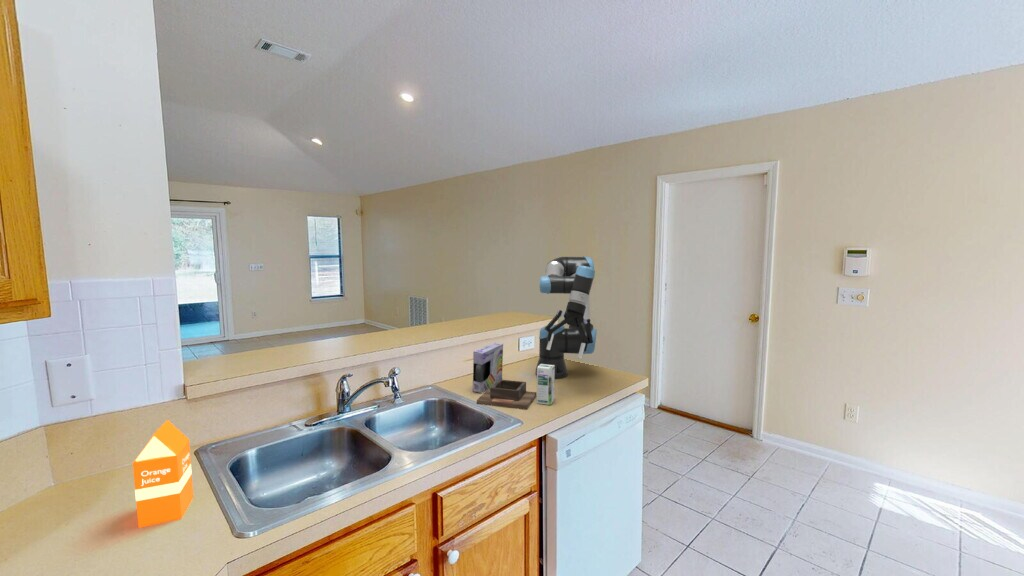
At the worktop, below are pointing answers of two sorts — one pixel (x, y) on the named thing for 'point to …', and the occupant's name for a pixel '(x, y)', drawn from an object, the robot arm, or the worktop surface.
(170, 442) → the orange juice
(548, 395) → the syrup box
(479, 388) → the cake pan box
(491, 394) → the socket board
